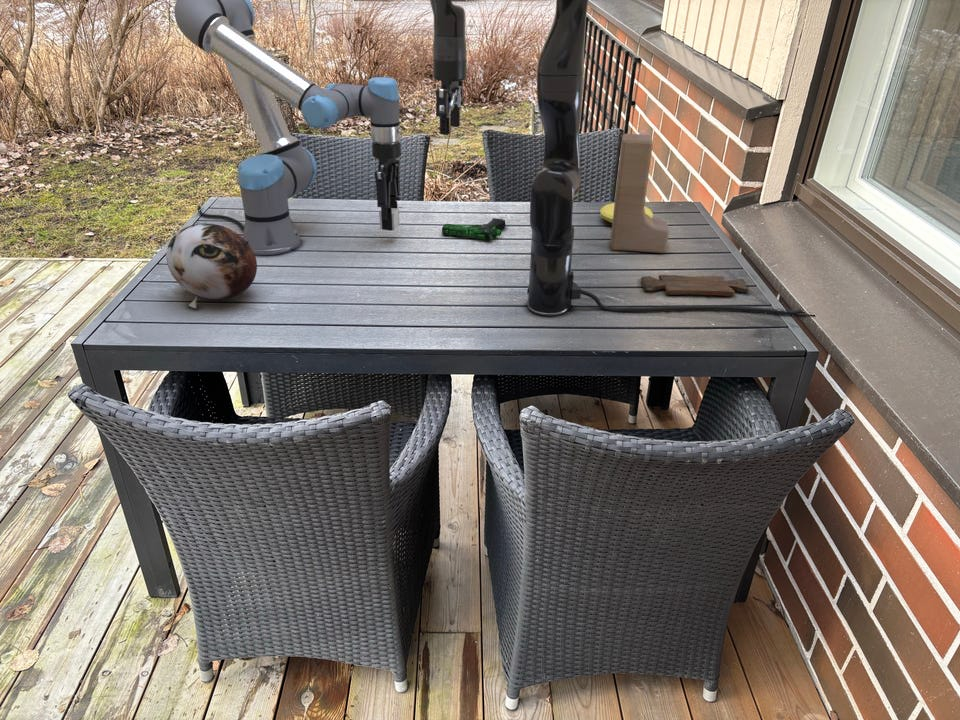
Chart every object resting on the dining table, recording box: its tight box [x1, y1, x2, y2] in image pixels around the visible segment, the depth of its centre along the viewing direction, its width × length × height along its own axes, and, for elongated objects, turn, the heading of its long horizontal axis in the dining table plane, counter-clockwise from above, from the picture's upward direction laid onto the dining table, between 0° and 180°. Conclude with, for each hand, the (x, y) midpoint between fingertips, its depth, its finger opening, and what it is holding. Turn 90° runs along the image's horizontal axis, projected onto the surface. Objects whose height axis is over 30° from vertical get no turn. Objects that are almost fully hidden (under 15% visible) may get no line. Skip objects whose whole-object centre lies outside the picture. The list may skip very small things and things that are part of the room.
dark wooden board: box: [640, 274, 748, 297], centre depth 176 cm, size 26×2×10 cm
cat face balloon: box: [165, 222, 258, 309], centre depth 165 cm, size 22×18×20 cm
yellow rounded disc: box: [599, 202, 654, 224], centre depth 215 cm, size 16×16×7 cm
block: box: [378, 208, 401, 232], centre depth 198 cm, size 4×4×5 cm
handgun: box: [441, 217, 506, 242], centre depth 207 cm, size 16×3×15 cm
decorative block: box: [610, 133, 670, 254], centre depth 191 cm, size 8×15×30 cm, turn 82°
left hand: (390, 226), depth 199 cm, fingers closed on block, 4 cm apart
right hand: (450, 130), depth 169 cm, fingers open, 8 cm apart
